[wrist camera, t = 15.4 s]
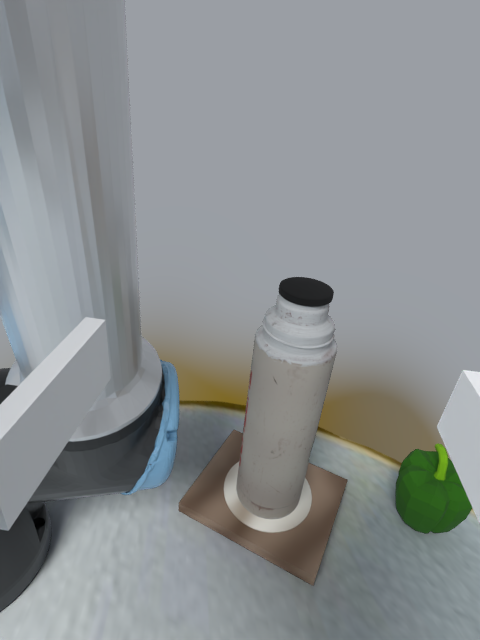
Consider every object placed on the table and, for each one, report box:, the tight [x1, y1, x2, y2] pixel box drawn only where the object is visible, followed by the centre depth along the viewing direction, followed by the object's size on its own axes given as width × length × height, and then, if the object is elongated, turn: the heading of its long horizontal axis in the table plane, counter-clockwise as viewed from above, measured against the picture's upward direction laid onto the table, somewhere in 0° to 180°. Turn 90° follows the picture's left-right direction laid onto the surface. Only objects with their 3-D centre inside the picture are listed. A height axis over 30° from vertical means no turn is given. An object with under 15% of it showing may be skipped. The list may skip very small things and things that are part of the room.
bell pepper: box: [396, 444, 472, 534], centre depth 47 cm, size 8×8×10 cm
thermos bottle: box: [236, 277, 337, 519], centre depth 42 cm, size 8×8×28 cm
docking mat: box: [179, 430, 348, 585], centre depth 50 cm, size 17×14×2 cm
